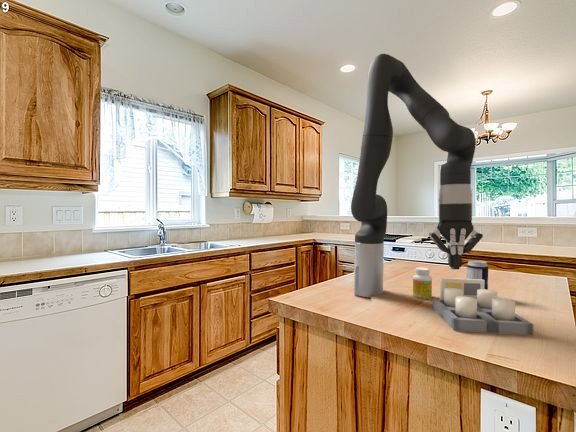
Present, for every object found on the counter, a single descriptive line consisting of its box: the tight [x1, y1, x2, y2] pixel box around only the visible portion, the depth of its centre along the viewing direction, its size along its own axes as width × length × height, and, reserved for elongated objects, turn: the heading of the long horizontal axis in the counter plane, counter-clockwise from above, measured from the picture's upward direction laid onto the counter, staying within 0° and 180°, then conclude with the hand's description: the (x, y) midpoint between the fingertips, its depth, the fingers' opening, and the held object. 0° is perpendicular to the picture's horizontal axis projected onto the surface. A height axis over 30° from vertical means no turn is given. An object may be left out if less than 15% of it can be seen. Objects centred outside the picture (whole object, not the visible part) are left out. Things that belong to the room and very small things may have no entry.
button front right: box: [492, 297, 516, 321], centre depth 71 cm, size 4×4×4 cm
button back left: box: [444, 288, 463, 307], centre depth 80 cm, size 4×4×4 cm
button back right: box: [477, 289, 498, 309], centre depth 79 cm, size 4×4×4 cm
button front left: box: [455, 296, 477, 319], centre depth 72 cm, size 4×4×4 cm
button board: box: [432, 277, 534, 336], centre depth 76 cm, size 16×18×9 cm
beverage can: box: [466, 259, 489, 290], centre depth 96 cm, size 6×6×12 cm
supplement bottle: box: [412, 267, 433, 300], centre depth 96 cm, size 5×5×10 cm
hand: (455, 268), depth 80 cm, fingers closed
